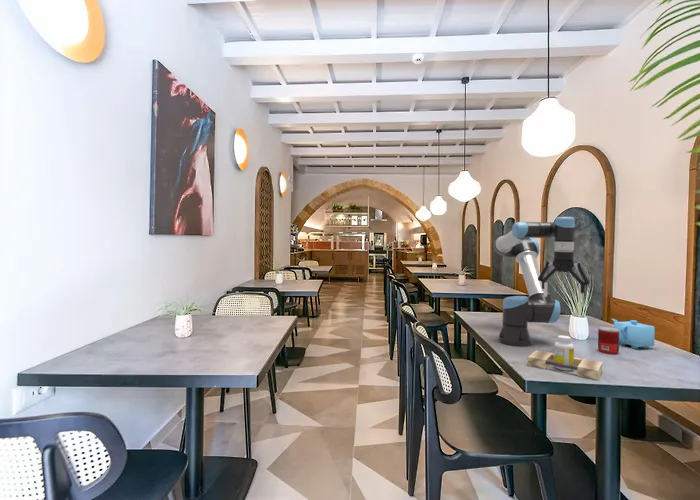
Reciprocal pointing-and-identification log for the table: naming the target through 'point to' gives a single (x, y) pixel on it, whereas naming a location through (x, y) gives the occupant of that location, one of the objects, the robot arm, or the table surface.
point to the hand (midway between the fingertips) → (562, 298)
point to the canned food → (608, 340)
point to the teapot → (635, 334)
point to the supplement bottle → (564, 352)
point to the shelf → (581, 365)
